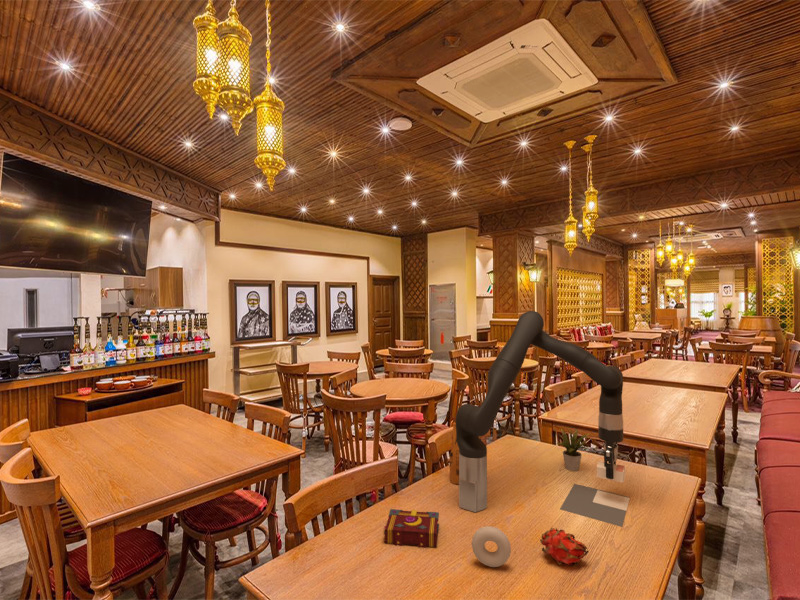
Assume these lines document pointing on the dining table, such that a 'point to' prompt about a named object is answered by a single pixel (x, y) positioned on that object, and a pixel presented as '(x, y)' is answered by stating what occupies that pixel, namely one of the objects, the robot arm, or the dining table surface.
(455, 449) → the coffee package
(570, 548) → the dragon fruit
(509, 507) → the dining table surface
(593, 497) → the mat
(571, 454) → the house plant
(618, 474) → the card box
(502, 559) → the donut
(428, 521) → the decorative book
